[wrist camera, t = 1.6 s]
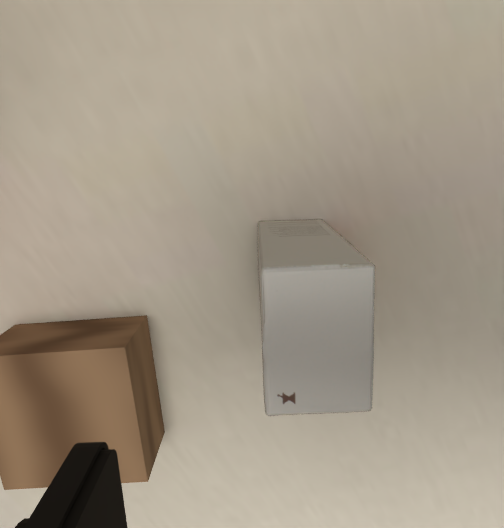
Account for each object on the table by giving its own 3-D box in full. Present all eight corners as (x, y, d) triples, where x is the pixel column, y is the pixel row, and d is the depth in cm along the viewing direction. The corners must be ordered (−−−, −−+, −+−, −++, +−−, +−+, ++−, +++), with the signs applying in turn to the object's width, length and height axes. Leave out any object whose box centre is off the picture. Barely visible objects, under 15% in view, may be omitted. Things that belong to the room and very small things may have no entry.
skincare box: (324, 306, 27) (374, 417, 16) (260, 309, 27) (262, 421, 16) (324, 215, 26) (379, 263, 14) (256, 218, 26) (255, 268, 14)
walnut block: (147, 314, 28) (124, 347, 23) (165, 429, 30) (147, 481, 25) (17, 323, 28) (-33, 358, 23) (44, 436, 30) (4, 489, 26)
